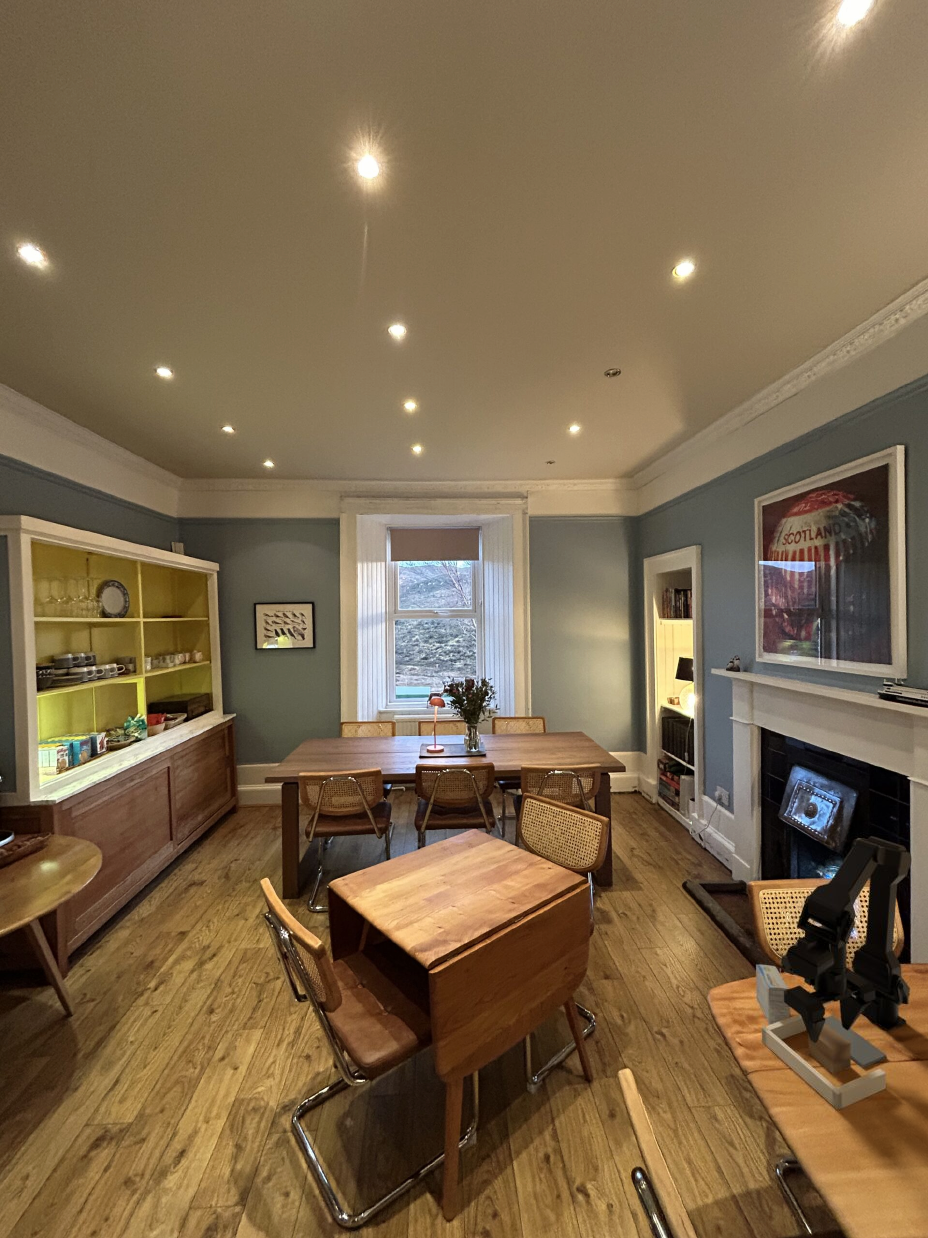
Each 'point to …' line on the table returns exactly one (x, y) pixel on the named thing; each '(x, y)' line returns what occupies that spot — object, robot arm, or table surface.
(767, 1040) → the white u-shaped frame
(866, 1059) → the slate coaster
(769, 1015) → the medicine box
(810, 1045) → the walnut block
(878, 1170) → the table surface
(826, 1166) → the table surface
